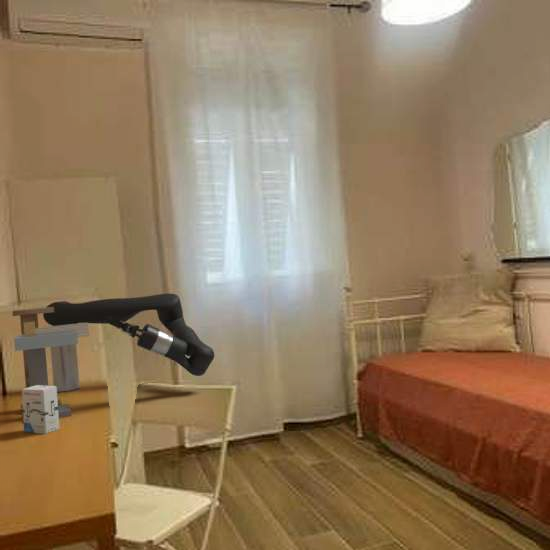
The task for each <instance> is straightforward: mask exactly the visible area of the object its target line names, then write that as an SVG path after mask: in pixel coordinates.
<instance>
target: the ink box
mask: <svg viewBox="0 0 550 550" xmlns="http://www.w3.org/2000/svg"><path fill="white" fill-rule="evenodd" d="M21 396H22V398H21V399H22V401H21V402H22V405H23V414H22V415H23V432H24V433H31V434H32V433H33V434H42V435H43V434H44V435H47V434H49V432H50V433H53V432H55V430H56V431H58V429H59V430H60V420H59V419H60V418H59V416H58V401H57V399H58V392H57V387H56V386H53V385H48V386H45V385H35V386H32V387H28V388H26V387H25V388H22V389H21ZM52 431H53V432H52Z"/></svg>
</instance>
